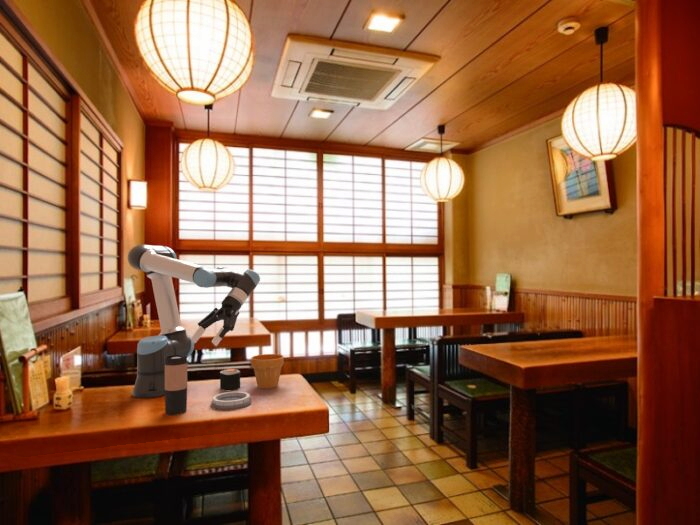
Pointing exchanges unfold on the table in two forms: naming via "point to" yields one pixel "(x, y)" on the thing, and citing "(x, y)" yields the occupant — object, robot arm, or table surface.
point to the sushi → (229, 379)
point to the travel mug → (175, 384)
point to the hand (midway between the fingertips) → (202, 342)
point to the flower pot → (267, 369)
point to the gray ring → (231, 400)
